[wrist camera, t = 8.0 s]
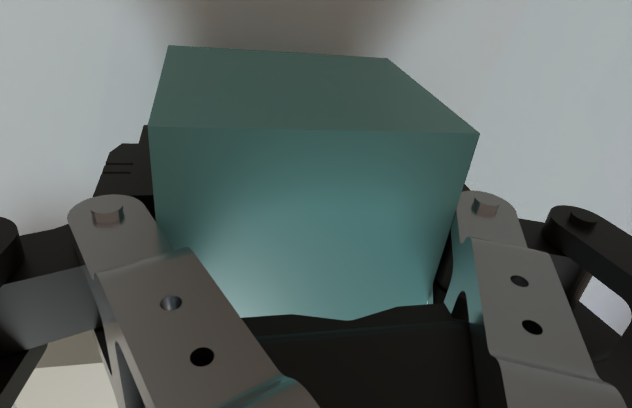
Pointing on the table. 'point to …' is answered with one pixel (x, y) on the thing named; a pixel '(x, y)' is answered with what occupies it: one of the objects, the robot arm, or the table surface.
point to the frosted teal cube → (306, 178)
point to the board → (69, 377)
